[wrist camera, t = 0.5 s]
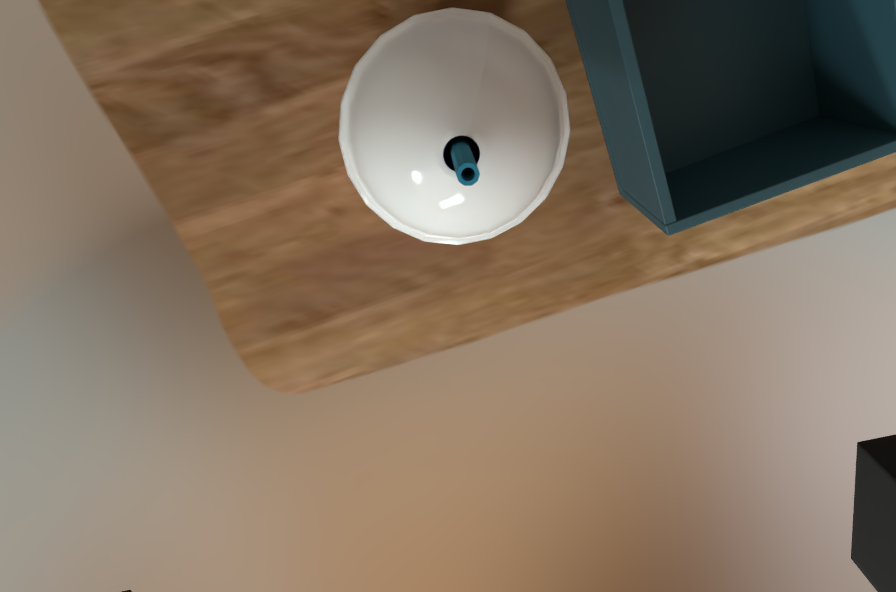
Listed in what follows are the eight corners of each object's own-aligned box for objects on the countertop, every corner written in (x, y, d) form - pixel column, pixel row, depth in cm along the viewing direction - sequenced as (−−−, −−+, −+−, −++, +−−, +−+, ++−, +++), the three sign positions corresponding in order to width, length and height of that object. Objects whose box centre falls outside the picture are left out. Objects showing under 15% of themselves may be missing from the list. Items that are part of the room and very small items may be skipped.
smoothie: (547, 87, 36) (682, 162, 18) (446, 196, 38) (474, 363, 20) (435, -25, 33) (459, -75, 15) (335, 98, 36) (249, 186, 17)
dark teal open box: (561, -16, 34) (601, -25, 26) (789, -112, 32) (898, -149, 25) (619, 194, 39) (668, 236, 31) (821, 118, 37) (920, 143, 30)
